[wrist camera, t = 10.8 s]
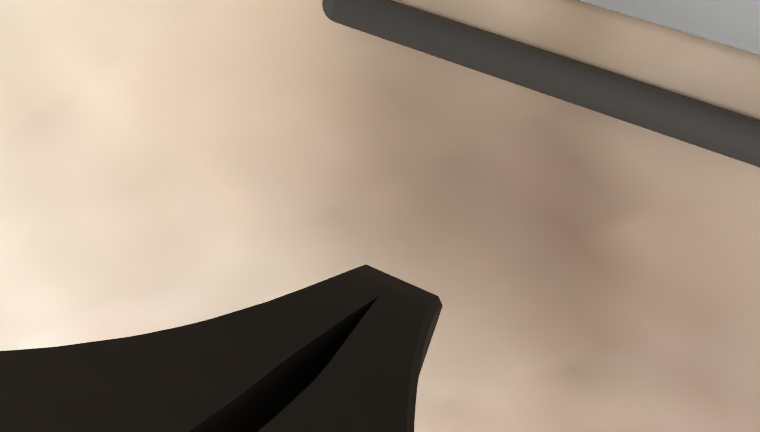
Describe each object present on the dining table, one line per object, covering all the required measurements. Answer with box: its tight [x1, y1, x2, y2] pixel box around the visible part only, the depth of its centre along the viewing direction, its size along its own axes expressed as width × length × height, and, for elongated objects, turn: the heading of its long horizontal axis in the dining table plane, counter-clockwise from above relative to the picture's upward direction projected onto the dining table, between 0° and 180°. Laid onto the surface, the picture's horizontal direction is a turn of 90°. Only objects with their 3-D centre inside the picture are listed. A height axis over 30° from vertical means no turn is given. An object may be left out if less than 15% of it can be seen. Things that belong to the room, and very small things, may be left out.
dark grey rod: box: [322, 0, 760, 167], centre depth 17 cm, size 21×1×1 cm, turn 76°
